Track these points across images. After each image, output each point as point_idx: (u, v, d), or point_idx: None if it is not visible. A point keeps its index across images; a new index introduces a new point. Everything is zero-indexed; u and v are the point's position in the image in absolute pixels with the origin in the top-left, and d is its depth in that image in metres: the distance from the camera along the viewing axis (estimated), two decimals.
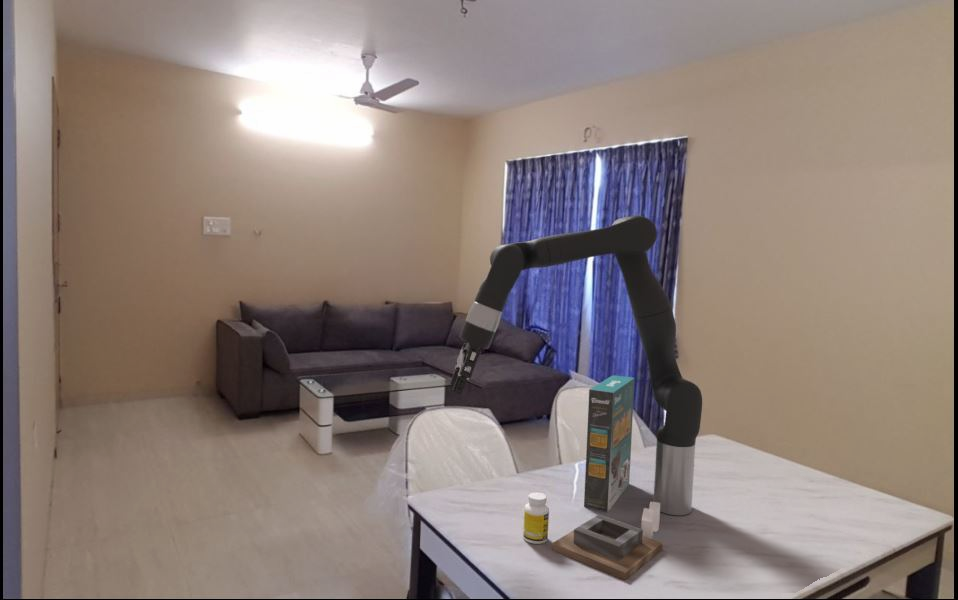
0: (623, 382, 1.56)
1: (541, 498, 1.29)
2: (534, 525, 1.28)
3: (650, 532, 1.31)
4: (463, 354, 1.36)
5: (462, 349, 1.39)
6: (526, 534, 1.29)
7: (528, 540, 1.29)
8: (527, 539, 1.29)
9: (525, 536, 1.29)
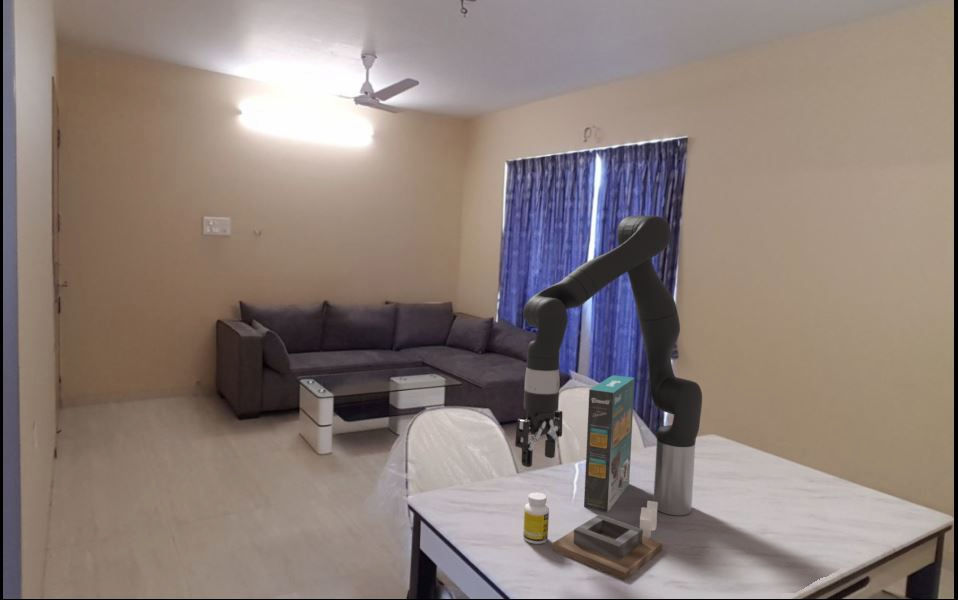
0: (623, 382, 1.56)
1: (541, 498, 1.29)
2: (534, 525, 1.28)
3: (649, 531, 1.31)
4: None
5: None
6: (526, 534, 1.29)
7: (528, 540, 1.29)
8: (527, 539, 1.29)
9: (525, 536, 1.29)
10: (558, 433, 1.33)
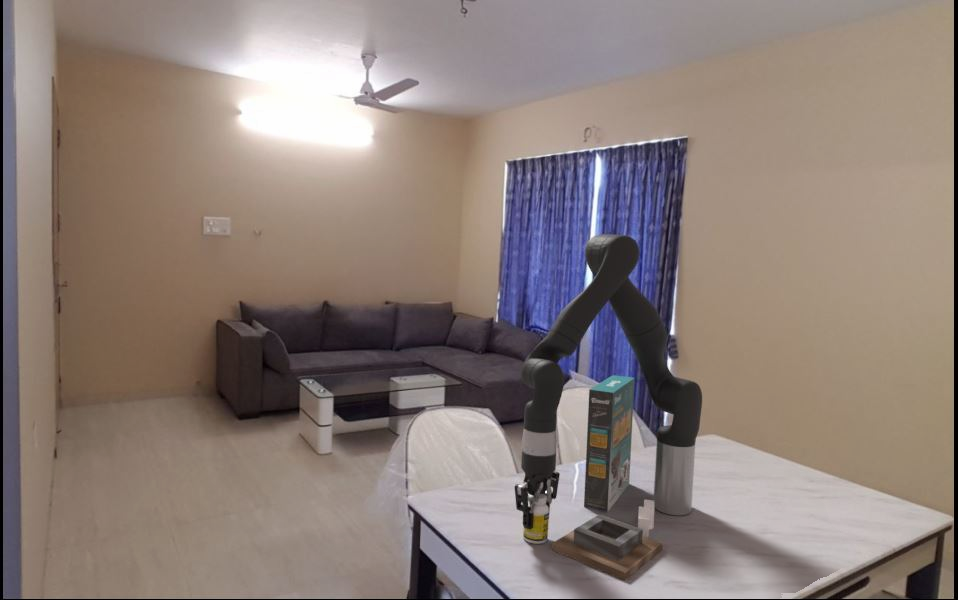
0: (623, 382, 1.56)
1: (541, 498, 1.29)
2: (534, 525, 1.28)
3: (647, 530, 1.31)
4: None
5: None
6: (526, 534, 1.29)
7: (528, 540, 1.29)
8: (527, 539, 1.29)
9: (525, 536, 1.29)
10: (553, 495, 1.33)
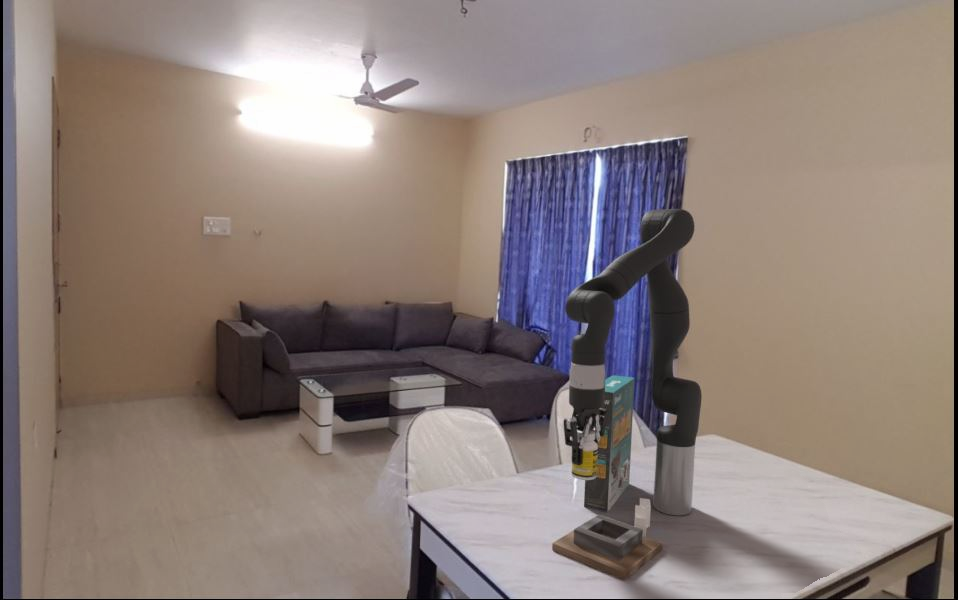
0: (623, 382, 1.56)
1: (590, 434, 1.25)
2: (583, 461, 1.25)
3: (644, 529, 1.32)
4: None
5: None
6: (575, 470, 1.26)
7: (577, 477, 1.26)
8: (576, 476, 1.26)
9: (574, 473, 1.26)
10: (601, 432, 1.30)
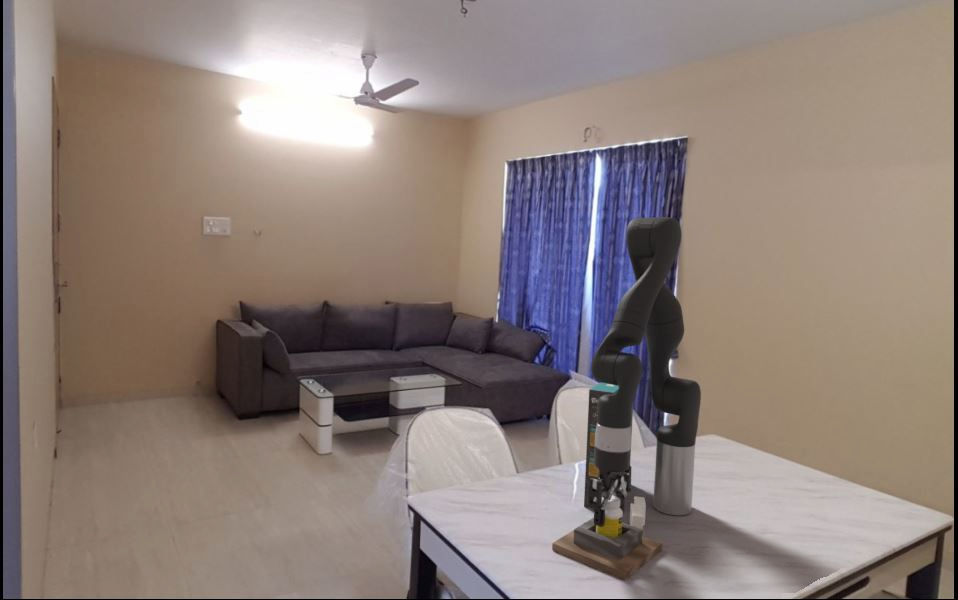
0: None
1: (615, 501, 1.25)
2: (608, 529, 1.24)
3: (641, 527, 1.33)
4: None
5: None
6: None
7: None
8: None
9: None
10: (627, 488, 1.30)
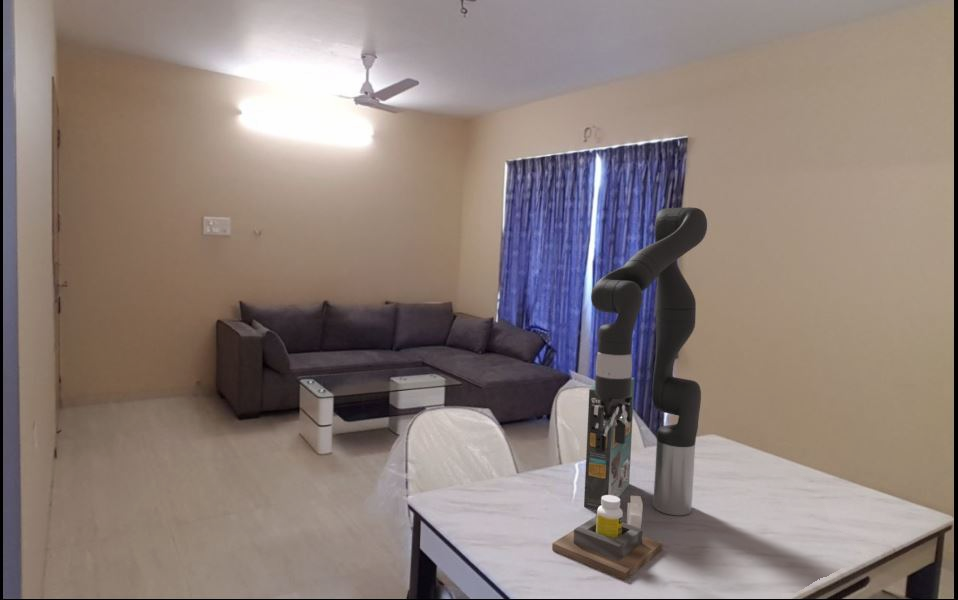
0: None
1: (615, 501, 1.25)
2: (608, 529, 1.24)
3: (639, 526, 1.33)
4: None
5: None
6: None
7: None
8: None
9: None
10: (628, 418, 1.31)
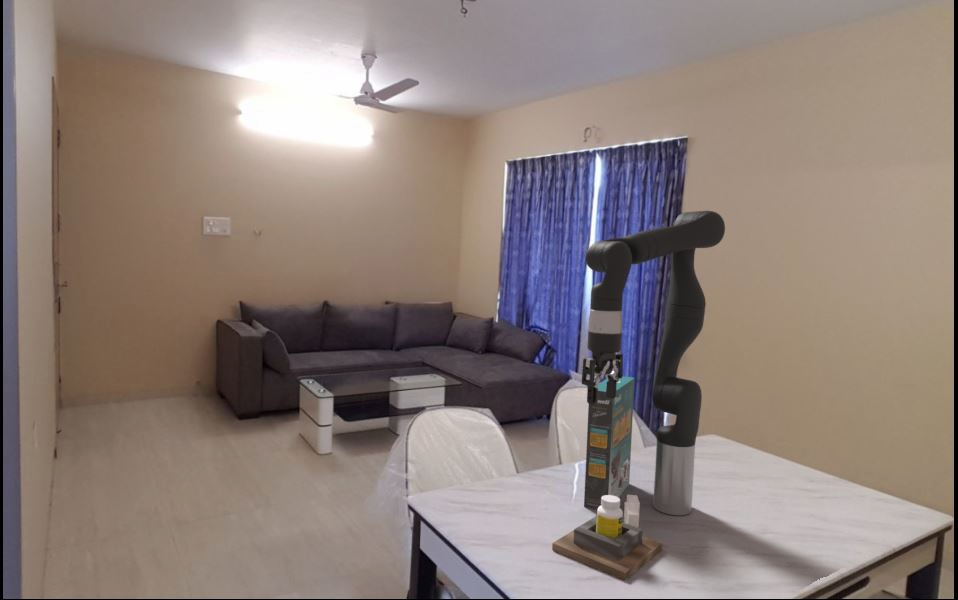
0: (623, 382, 1.56)
1: (615, 501, 1.25)
2: (608, 529, 1.24)
3: (637, 525, 1.34)
4: None
5: None
6: None
7: None
8: None
9: None
10: (619, 375, 1.38)
